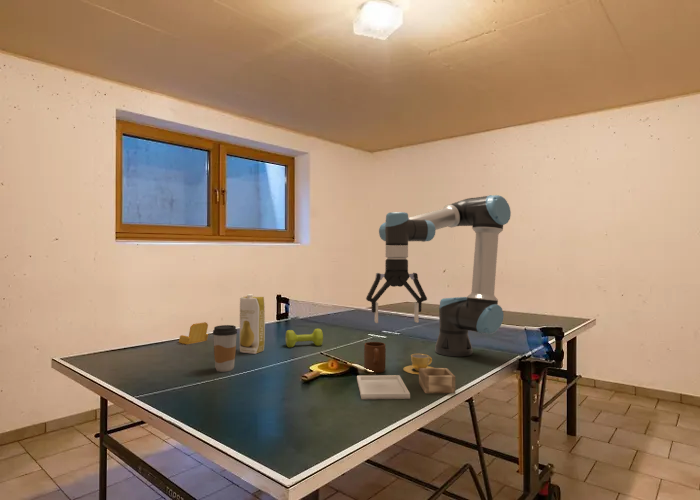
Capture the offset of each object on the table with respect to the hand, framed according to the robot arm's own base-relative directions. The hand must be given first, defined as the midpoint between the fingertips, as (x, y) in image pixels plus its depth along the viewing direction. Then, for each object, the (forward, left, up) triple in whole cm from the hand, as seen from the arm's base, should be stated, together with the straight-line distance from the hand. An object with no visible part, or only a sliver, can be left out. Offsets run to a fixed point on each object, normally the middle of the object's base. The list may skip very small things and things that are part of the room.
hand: (396, 322), depth 143 cm
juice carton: (+54, -37, -19) cm, 69 cm away
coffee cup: (+59, -11, -19) cm, 63 cm away
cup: (-10, -9, -19) cm, 23 cm away
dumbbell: (+33, -49, -19) cm, 62 cm away
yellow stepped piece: (+84, -57, -19) cm, 104 cm away
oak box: (-11, +12, -19) cm, 24 cm away
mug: (+6, -6, -19) cm, 21 cm away
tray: (+6, +12, -19) cm, 23 cm away
